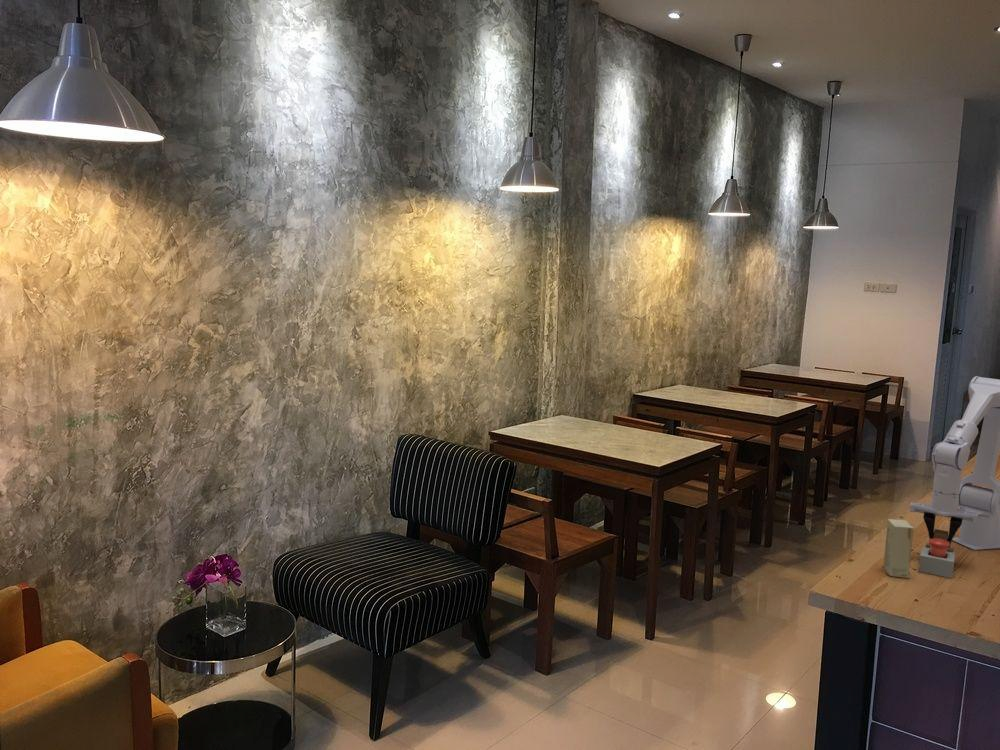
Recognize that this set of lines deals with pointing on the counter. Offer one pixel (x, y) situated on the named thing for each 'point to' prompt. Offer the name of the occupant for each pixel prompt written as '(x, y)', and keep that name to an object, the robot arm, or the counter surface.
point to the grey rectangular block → (936, 563)
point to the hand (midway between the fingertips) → (939, 544)
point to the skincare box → (898, 548)
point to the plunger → (938, 547)
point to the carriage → (940, 535)
